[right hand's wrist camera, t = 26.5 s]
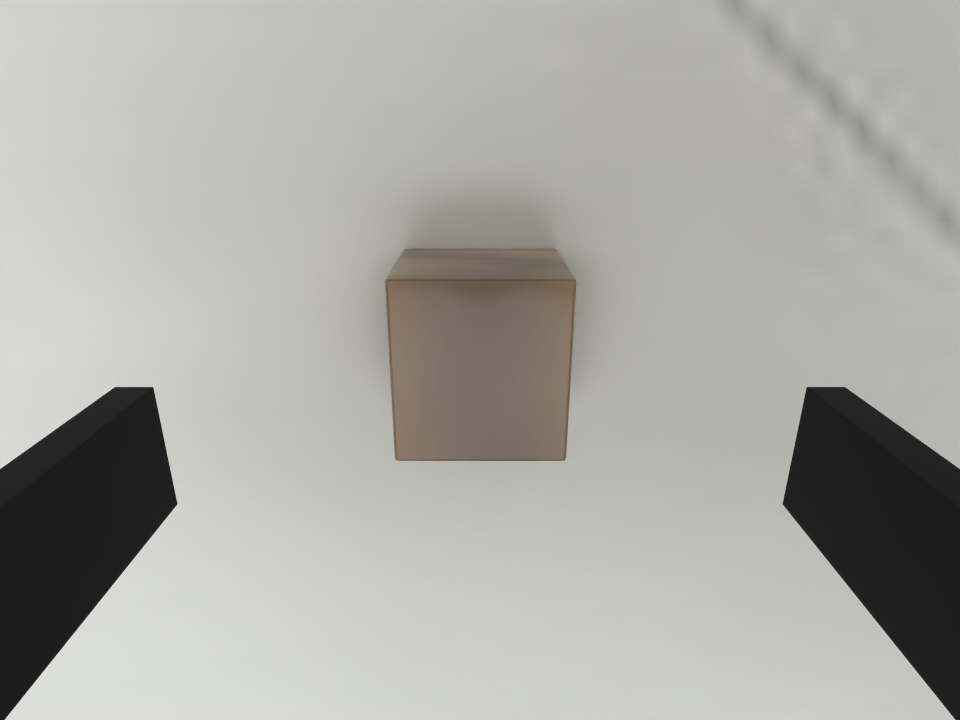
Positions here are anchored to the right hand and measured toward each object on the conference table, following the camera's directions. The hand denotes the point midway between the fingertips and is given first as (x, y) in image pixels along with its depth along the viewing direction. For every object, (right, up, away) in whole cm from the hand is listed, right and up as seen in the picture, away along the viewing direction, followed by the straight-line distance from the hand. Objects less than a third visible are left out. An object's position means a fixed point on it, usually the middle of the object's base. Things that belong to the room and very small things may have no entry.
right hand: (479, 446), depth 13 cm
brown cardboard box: (0, +3, +7) cm, 8 cm away
